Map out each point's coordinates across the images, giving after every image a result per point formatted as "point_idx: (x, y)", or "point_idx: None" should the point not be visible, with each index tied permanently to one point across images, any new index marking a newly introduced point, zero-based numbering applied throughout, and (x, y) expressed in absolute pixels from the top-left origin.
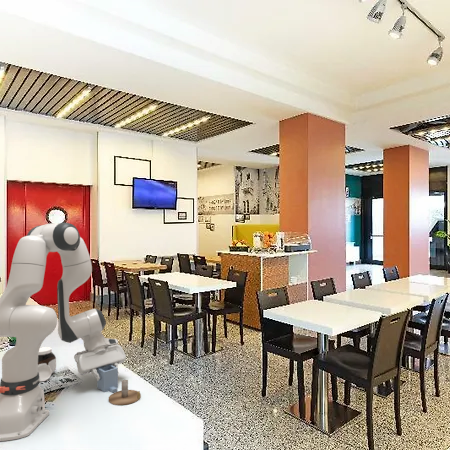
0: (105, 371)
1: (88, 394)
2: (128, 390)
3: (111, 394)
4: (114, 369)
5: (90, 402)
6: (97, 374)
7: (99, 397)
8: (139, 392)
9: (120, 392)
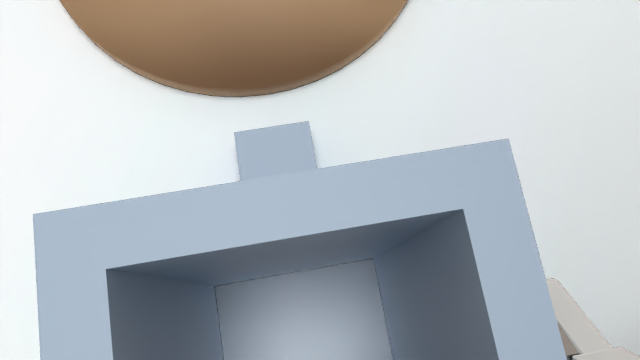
0: (461, 169)
1: (601, 290)
2: (120, 30)
3: (354, 50)
4: (160, 197)
5: (615, 47)
6: (611, 353)
7: (491, 112)
8: None
9: (234, 35)
